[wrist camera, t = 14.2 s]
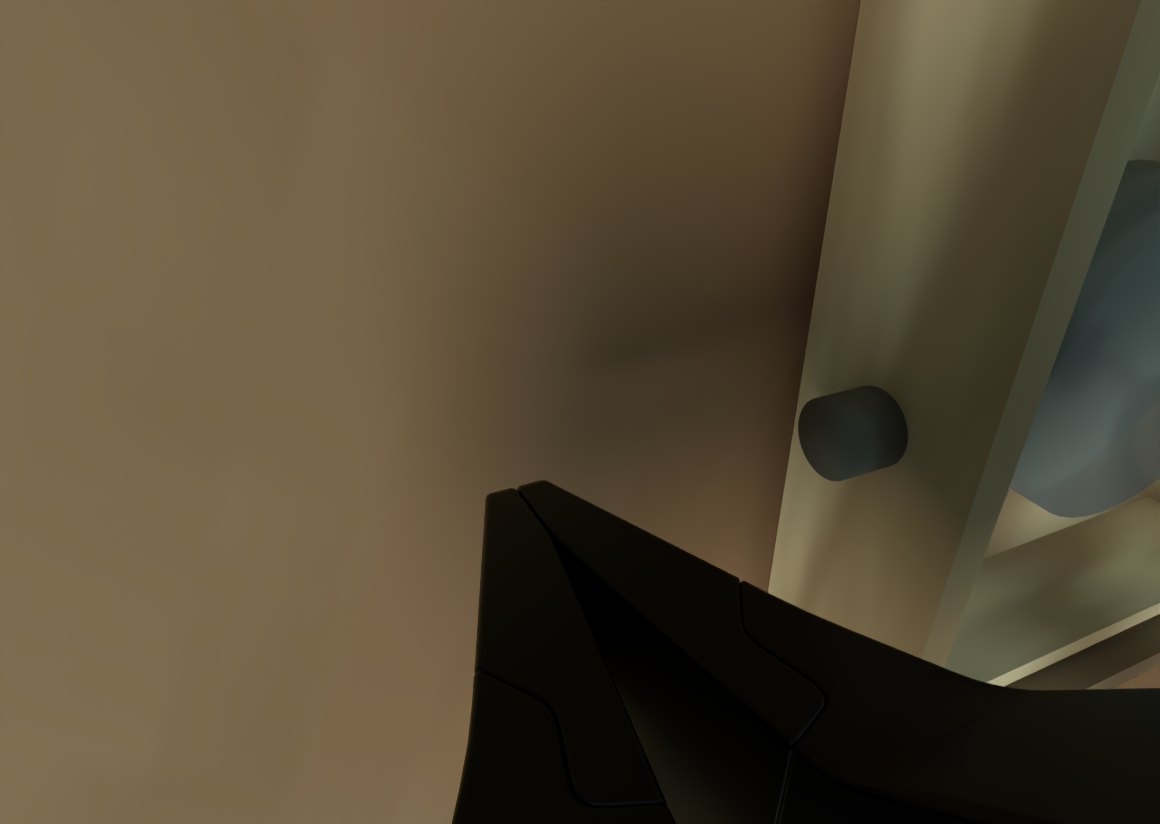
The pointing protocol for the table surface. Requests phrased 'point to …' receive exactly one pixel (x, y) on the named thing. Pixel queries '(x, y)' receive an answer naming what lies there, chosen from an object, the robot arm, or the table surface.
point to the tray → (965, 333)
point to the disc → (1105, 370)
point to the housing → (1102, 662)
